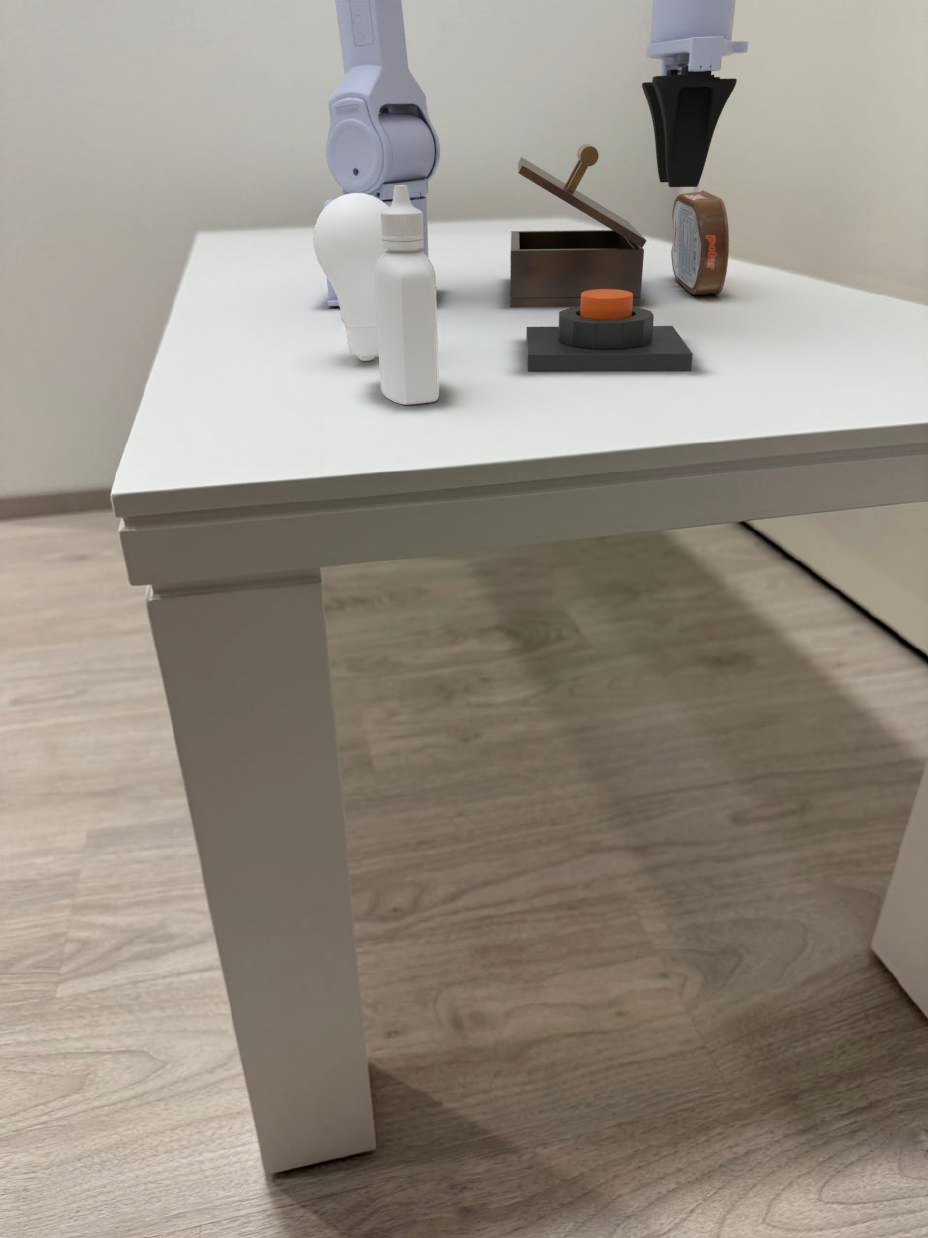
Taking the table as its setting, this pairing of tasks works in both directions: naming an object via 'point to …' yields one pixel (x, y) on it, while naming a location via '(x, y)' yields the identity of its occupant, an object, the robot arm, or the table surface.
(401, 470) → the table surface
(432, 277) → the eye dropper bottle
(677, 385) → the table surface
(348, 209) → the lightbulb
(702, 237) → the tin
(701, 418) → the table surface
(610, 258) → the box
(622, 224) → the lid
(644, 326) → the switch block
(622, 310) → the button
